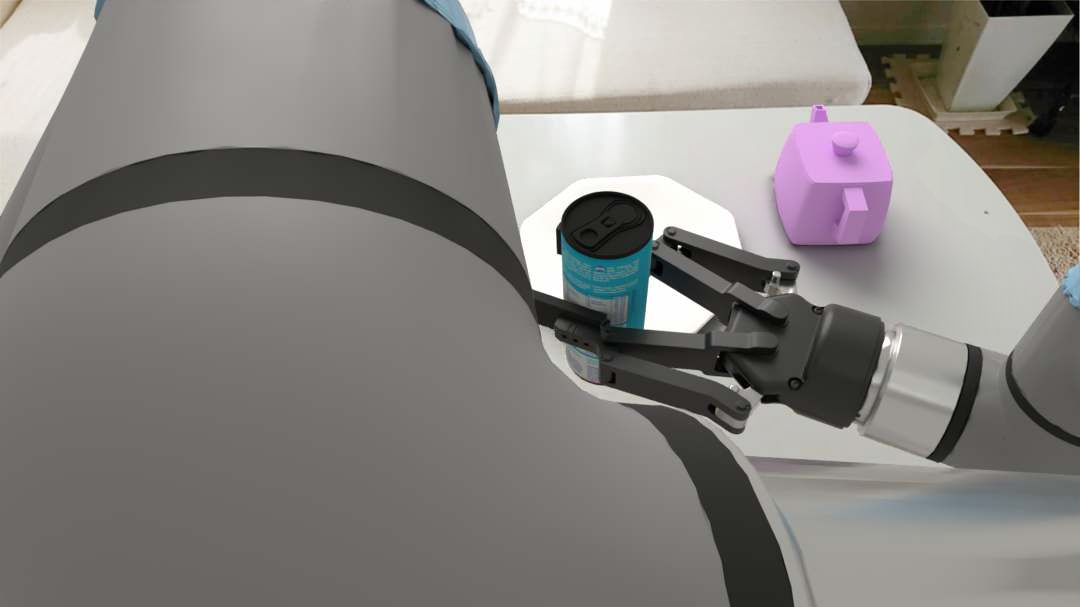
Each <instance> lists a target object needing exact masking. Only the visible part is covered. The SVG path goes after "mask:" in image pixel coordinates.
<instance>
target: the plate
mask: <svg viewBox="0 0 1080 607" xmlns="http://www.w3.org/2000/svg"><path fill="white" fill-rule="evenodd" d="M600 191H615V192H621V193H625V194H628V195H631V196H633V197H635V198H637V199H638V200H640V201H641V202H642V203H644V204H645V205H646V206H647V207H648V209H649V210H650V212H651V213H652V216H653V219H654V231H653V240H656V239H658V238H659V237H660V236H661V235H663V231H664V229H665V228H666V227H668V226H674V227H677V228H680V229H683V230H686V231H689V232H692V233H695V234H698V235H701V236H704V237H707V238H709V239H712V240H715V241H718V242H721V243H724V244H727V245H730V246H733V247H736V248H739V249H742V250H743V247H742V242H741V240H740V235H739V232H738V227H737V223H736V220H735V216H734V215H733V214H732V213H731V212H730V211H729V210H728V209H726V208H725V207H722V206H721V205H719V204H717V203H715V202H713V201H711V200H710V199H708V198H706V197H704V196H702V195H701V194H699V193H697V192H695V191H693V190H691V189H690V188H689V187H686V186H685V185H682V184H681V183H679V182H677V181H675V180H673V179H671V178H670V177H667V176H664V175H660V174H647V175H629V176H628V175H627V176H610V177H609V176H607V177H590V178H589V177H588V178H583V179H580V180H577V181H574V182H573V183H572V184H571V185H569V186H568V187H567V188H565V189H564V190H562V191H561V192H560V193H558V194H557V195H556V196H555V197H553V198H551V200H549V201H548V202H547V203H545V204H544V205H543V206H540V208H539V209H538V210H536V211H535V212H534V213H532V214H531V215H530V216H528V217H527V218H525V219H524V220H523V221H522V224H521V225H520V227H519V228H520V230H519V234H520V238H521V242H522V247H523V251H524V256H525V260H526V264H527V269H528V273H529V277H530V282H531V286H532V289H533V290H536V291H539V292H542V293H545V294H548V295H551V296H554V297H557V298H560V299H563V276H562V255H559V254H557V245H556V228H557V226H558V225H559V223H560V222H561V218H562V215H563V213H564V211H565V209H566V208H567V207H568V206H569V205H570V204H571V203H572V202H573V201H575V200H576V199H578V198H580V197H581V196H584V195H586V194H589V193H593V192H600ZM678 247H681V246H679V245H678ZM714 317H716V315H715V314H713V313H711V312H710V311H708V310H707V309H705V308H703V307H702V306H700V305H698V304H697V303H695V302H693V301H692V300H690V299H689V298H687V297H685V296H684V295H682V294H680V293H679V292H677V291H676V290H674V289H672V288H671V287H669V286H667V285H666V284H664V283H662V282H661V281H659V280H658V279H656V278H654V277H653V276H650V277H649V285H648V295H647V304H646V314H645V324H644V329H648V330H659V331H671V332H683V333H694V334H699V332H700V331H701V329H703V327H706V325H707V324H708V323H709V322H710V321H711V320H712V319H713V318H714Z"/></svg>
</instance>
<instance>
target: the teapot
mask: <svg viewBox="0 0 1080 607" xmlns="http://www.w3.org/2000/svg"><path fill="white" fill-rule="evenodd" d="M773 178H774V179H773V181H774V193H775V200H776V207H777V211H778V215H779V218H780V220H781V222H782V226H783V228H784V231H785V233H786V236H787V238H788V239H789V241H790V242H791V243H792V244H793V245H799V246H845V245H846V246H848V245H864V244H870V243H872V242H873V241H875V240H876V239H877V237H879V235H880V233H881V232H882V230H883V227H884V225H885V222H886V218H887V214H888V211H889V208H890V203H891V197H892V192H893V184H894V174H893V171H892V168H891V164H890V162H889V158H888V155H887V152H886V150H885V148H884V145H883V143H882V141H881V139H880V137H879V135H878V134H877V132H876V130H875V128H874V127H873V126H872V124H871V123H869V122H868V121H829V119H828V114H827V109H826V107H825V105H824V104H812V107H811V113H810V118H809V122H802V123H795V124H794V125H793V127H792V129H791V130H790V132H789V135H788V136H787V138H786V140H785V141H784V143H783V146H782V148H781V151H780V154H779V156H778V158H777V161H776V166H775V169H774V177H773Z"/></svg>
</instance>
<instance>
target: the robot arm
mask: <svg viewBox="0 0 1080 607" xmlns="http://www.w3.org/2000/svg"><path fill="white" fill-rule="evenodd" d="M93 19H94V21H95V25H94V26H93V28H92V31H91V34H90V35H89V38H88V40H87V43H86V45H85V48H84V50H83V51H82V54H81V56H80V58H79V60H78V63H77V65H76V67H75V69H74V70H73V73H72V75H71V78H69V79H70V80H69V81H68V83H67V85H66V87H65V90H64V91H63V93H62V96H61V98H60V100H59V102H58V104H57V106H56V108H55V110H54V111H53V113H52V116H51V118H50V119H49V121H48V124H47V125H46V127H45V129H44V130H43V133H42V135H41V137H40V139H39V140H38V142H37V144H36V146H35V148H34V150H33V152H32V154H31V156H30V158H29V159H28V162H27V163H26V166H25V167H24V169H23V171H22V173H21V175H20V177H19V179H18V181H17V183H16V185H15V187H14V188H13V191H12V193H11V195H10V196H9V199H8V200H7V202H6V204H5V206H4V208H3V210H2V212H1V214H0V607H1080V261H1079V262H1078V263H1077V264H1076V265H1073V266H1071V267H1070V268H1069V269H1068V270H1067V272H1066V273H1067V274H1065V275H1063V279H1062V280H1060V285H1059V286H1058V288H1057V289H1056V290H1055V292H1054V293H1053V294H1052V296H1051V297H1050V299H1049V300H1048V301H1047V303H1046V304H1045V305H1044V307H1042V309H1041V311H1040V312H1039V313H1038V315H1037V316H1036V318H1035V319H1034V320H1033V322H1032V323H1031V324H1030V326H1029V327H1028V329H1027V330H1026V331H1025V333H1024V334H1023V335H1022V337H1021V338H1020V340H1019V341H1018V342H1017V343H1016V344H1015V346H1014V348H1013V349H1012V350H1011V352H1010V353H1009V354H1004V353H1002V352H998V351H994V350H991V349H987V348H984V347H980V346H977V345H973V344H970V343H967V342H966V343H965V342H962V341H959V340H956V339H952V338H949V337H947V336H943V335H940V334H937V333H934V332H930V331H927V330H924V329H922V328H918V327H915V326H912V325H908V324H906V323H903V322H898V323H896V324H895V323H894V325H893V326H892V327H891V328H890V329H889V328H886V324H885V321H883V320H882V318H881V316H877V315H874V314H871V313H867V312H864V311H861V310H857V309H854V308H851V307H848V306H844V305H841V304H837V303H829V304H827V305H824V306H818V305H815V304H814V303H811V302H810V301H808V300H807V299H805V298H804V297H803V296H801V295H800V294H798V286H797V280H798V277H799V274H800V271H801V265H800V263H799V262H798V261H796V260H793V259H785V258H774V257H773V258H771V257H766V256H763V255H759V254H756V253H753V252H750V251H748V250H744V249H743V248H742V249H739V248H736V247H733V246H730V245H727V244H724V243H721V242H718V241H715V240H712V239H709V238H707V237H704V236H701V235H698V234H695V233H692V232H689V231H686V230H683V229H680V228H677V227H674V226H668V227H666V228H665V229H664V231H663V235H661V236H660V237H659V238H658V239H656V240H653V242H652V253H651V264H650V274H649V277H650V276H653V277H654V278H656V279H658V280H659V281H661V282H662V283H664V284H666V285H667V286H669V287H671V288H672V289H674V290H676V291H677V292H679V293H680V294H682V295H684V296H685V297H687V298H689V299H690V300H692V301H693V302H695V303H697V304H698V305H700V306H702V307H703V308H705V309H707V310H708V311H710V312H711V313H713V314H715V317H717V319H718V321H719V323H720V324H721V325H723V326H724V327H725V328H724V330H710V331H708V332H706V333H696V334H694V333H683V332H671V331H659V330H648V329H636V328H625V327H613V326H610V319H607V314H605V313H602V312H599V311H596V310H593V309H589V308H586V307H584V306H581V305H578V304H575V303H572V302H569V301H566V300H563V299H560V298H557V297H554V296H551V295H548V294H545V293H542V292H539V291H536V290H533V289H532V286H531V282H530V277H529V273H528V269H527V264H526V260H525V256H524V251H523V247H522V242H521V238H520V230H519V225H518V220H517V216H516V213H515V207H514V204H513V198H512V195H511V194H512V193H511V190H510V187H509V182H508V176H507V172H506V167H505V163H504V159H503V154H502V151H501V145H500V141H499V138H498V133H497V132H498V128H499V122H500V117H501V112H500V111H501V110H500V101H499V94H498V87H497V83H496V80H495V76H494V74H493V71H492V68H491V66H490V65H489V63H488V61H487V60H486V58H485V56H484V54H483V52H482V50H481V48H480V47H479V46H478V42H477V38H476V36H475V32H474V30H473V27H472V25H471V21H470V19H469V17H468V15H467V13H466V11H465V8H464V7H463V6H462V3H461V2H460V0H96V1H95V7H94V13H93ZM556 245H557V254H559V255H562V246H561V222H560V223H559V225H558V226H557V228H556ZM678 245H679V246H681V247H678ZM760 293H761V294H760ZM762 294H765V296H763V295H762ZM540 326H543V327H545V328H548V329H551V330H554V338H556V339H557V340H558V341H559V342H561V343H564V344H565V343H566V344H569V345H572V346H575V347H578V348H580V349H583V350H586V351H589V352H592V353H594V354H595V355H596V356H597V357H598V359H599V364H598V380H599V382H600V383H601V384H602V385H604V386H603V387H607V388H610V389H614V390H617V391H621V392H624V393H627V394H629V395H633V396H636V397H639V398H643V399H646V400H650V401H653V402H656V403H659V404H642V403H632V402H631V403H630V402H618V401H611V400H606V399H603V398H600V397H598V396H596V395H594V394H592V393H590V392H588V391H586V390H584V389H582V388H581V387H580V386H579V385H578V384H577V383H576V382H575V381H573V379H571V378H570V377H569V376H568V375H567V374H566V373H565V372H564V371H563V370H562V369H561V368H559V367H558V366H557V365H556V364H555V363H554V362H553V361H552V359H551V357H550V356H549V354H548V353H547V350H546V349H545V346H544V343H543V339H542V338H543V337H542V333H541V328H540ZM679 369H680V370H679ZM683 370H690V371H698V372H701V373H702V374H703V375H705V376H708V377H720V378H731V379H733V380H734V381H735V382H736V383H737V384H738V385H737V384H731V385H730V386H728V387H727V386H726V385H724V384H723V383H720V382H718V381H715V380H713V379H710V378H707V377H704V376H700V375H697V374H694V373H693V374H692V373H690V372H686V371H683ZM661 404H663V405H661ZM774 404H775V405H782V406H783V405H784V406H786V407H788V408H789V409H790V410H792V411H793V413H795V414H796V415H798V416H801V417H805V418H806V419H810V420H813V421H815V422H819V423H821V424H824V425H827V426H830V427H833V428H834V429H838V430H843V429H844V428H845V429H847V428H849V427H850V426H851V425H852V424H854V425H856V431H857V432H858V434H859V436H860V437H862V438H866V439H868V440H871V441H874V442H877V443H880V444H882V445H885V446H888V447H890V448H894V449H896V450H900V451H902V452H905V453H908V454H910V455H914V456H916V457H919V458H923V459H926V460H929V461H932V462H934V463H937V464H939V463H940V464H942V465H946V466H949V467H943V466H942V467H941V466H923V465H909V464H908V465H906V464H889V463H874V462H873V463H872V462H858V461H857V462H854V461H841V460H839V461H838V460H822V459H807V458H806V459H804V458H787V457H771V456H770V457H769V456H757V455H756V456H754V455H753V456H752V455H745V454H744V452H743V451H742V450H741V449H740V447H739V446H738V445H737V444H736V443H735V442H734V441H733V440H732V439H731V438H730V437H729V436H728V435H727V434H726V433H725V432H724V431H723V430H725V431H726V432H728V433H730V434H732V435H737V436H738V435H741V434H743V433H744V432H745V430H746V427H747V424H748V420H749V418H750V417H751V416H752V414H753V413H754V412H755V411H756V409H757V408H758V407H759V406H760V405H774ZM705 417H706V418H707V419H709V420H710V421H712V422H713V423H715V424H716V425H718V426H719V427H718V426H716V425H715V424H713V423H712V422H710V421H709V420H707V419H706V418H705ZM720 427H721V428H722V429H723V430H722V429H721V428H720Z"/></svg>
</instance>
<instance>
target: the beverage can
mask: <svg viewBox="0 0 1080 607" xmlns="http://www.w3.org/2000/svg"><path fill="white" fill-rule="evenodd" d="M653 231H654V219H653V216H652V213H651V212H650V210H649V209H648V207H647V206H646V205H645V204H644V203H642V202H641V201H640V200H638V199H637V198H635V197H633V196H631V195H628V194H625V193H621V192H615V191H600V192H593V193H589V194H586V195H584V196H581V197H580V198H578V199H576V200H575V201H573V202H572V203H571V204H570V205H569V206H568V207H567V208H566V209H565V211H564V213H563V215H562V218H561V246H562V276H563V300H566V301H569V302H572V303H575V304H578V305H581V306H584V307H586V308H589V309H593V310H596V311H599V312H602V313H605V314H607V319H610V326H613V327H625V328H636V329H644V324H645V314H646V304H647V295H648V285H649V274H650V264H651V253H652V242H653ZM564 345H565V346H564V347H565V353H564V354H565V358H566V362H567V364H568V366H569V368H570V369H571V370H572V372H573V374H575V375H576V376H577V377H578V378H579V379H581V380H582V381H584V382H586V383H588V384H592V385H595V386H602V387H605V386H604V385H602V384H601V383H600V382H599V380H598V364H599V359H598V357H597V356H596V355H595V354H594V353H592V352H589V351H586V350H583V349H580V348H578V347H575V346H572V345H569V344H566V343H564Z"/></svg>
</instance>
